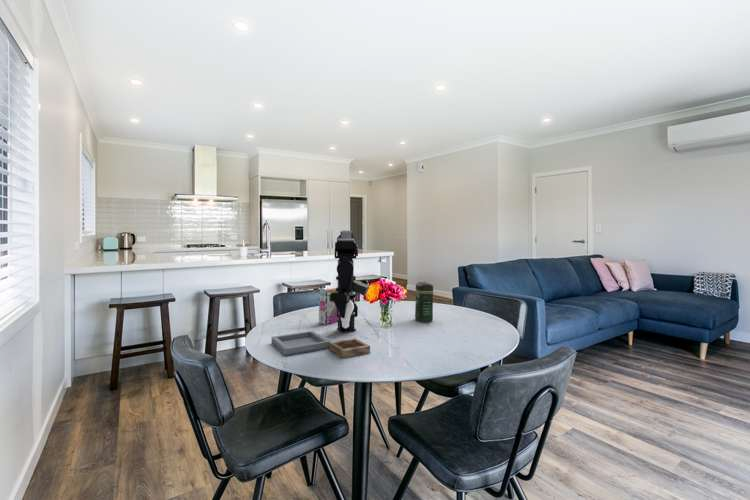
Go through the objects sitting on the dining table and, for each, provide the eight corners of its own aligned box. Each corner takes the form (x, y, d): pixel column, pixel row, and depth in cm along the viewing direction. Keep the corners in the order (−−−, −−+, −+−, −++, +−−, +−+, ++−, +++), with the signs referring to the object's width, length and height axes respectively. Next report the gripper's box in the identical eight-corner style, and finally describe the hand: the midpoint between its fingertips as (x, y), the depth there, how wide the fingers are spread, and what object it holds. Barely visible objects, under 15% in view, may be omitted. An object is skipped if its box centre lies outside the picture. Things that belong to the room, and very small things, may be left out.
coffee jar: (434, 322, 181) (435, 283, 180) (418, 322, 180) (419, 284, 178) (428, 317, 190) (429, 280, 189) (413, 317, 189) (413, 281, 188)
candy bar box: (326, 325, 173) (326, 289, 172) (318, 323, 176) (318, 288, 175) (342, 320, 182) (342, 286, 181) (334, 319, 185) (334, 285, 184)
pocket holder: (355, 344, 146) (355, 338, 146) (370, 352, 137) (370, 345, 136) (329, 349, 140) (329, 342, 140) (342, 358, 131) (342, 351, 131)
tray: (312, 336, 156) (312, 330, 156) (330, 348, 141) (330, 341, 141) (271, 343, 147) (271, 336, 147) (286, 356, 132) (286, 349, 132)
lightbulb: (347, 331, 134) (347, 301, 133) (333, 328, 137) (333, 299, 137) (357, 327, 139) (357, 298, 139) (343, 325, 143) (343, 296, 142)
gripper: (360, 278, 126) (360, 324, 127) (373, 271, 144) (372, 311, 145) (328, 276, 129) (328, 322, 130) (344, 270, 147) (344, 309, 148)
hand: (345, 316), depth 138 cm, fingers closed on lightbulb, 5 cm apart
